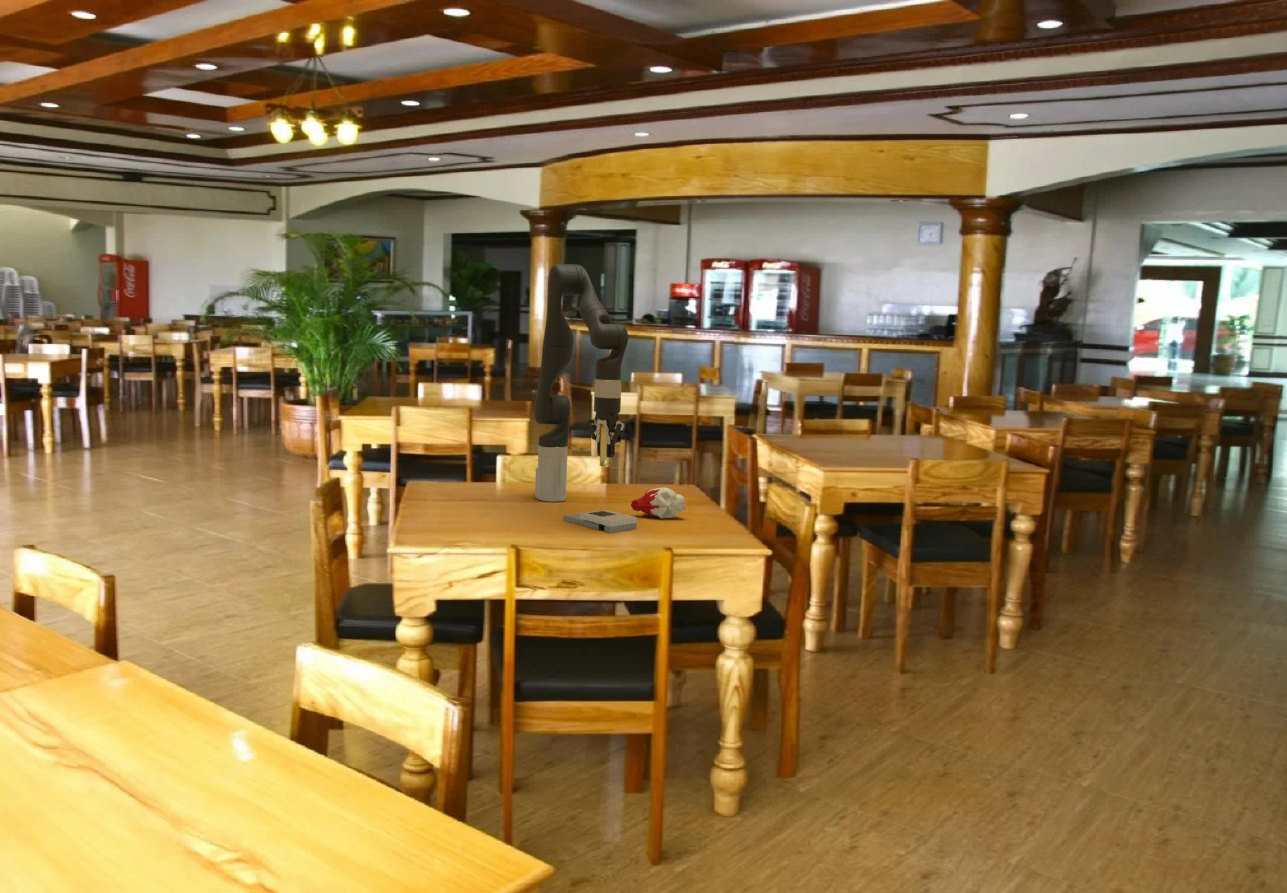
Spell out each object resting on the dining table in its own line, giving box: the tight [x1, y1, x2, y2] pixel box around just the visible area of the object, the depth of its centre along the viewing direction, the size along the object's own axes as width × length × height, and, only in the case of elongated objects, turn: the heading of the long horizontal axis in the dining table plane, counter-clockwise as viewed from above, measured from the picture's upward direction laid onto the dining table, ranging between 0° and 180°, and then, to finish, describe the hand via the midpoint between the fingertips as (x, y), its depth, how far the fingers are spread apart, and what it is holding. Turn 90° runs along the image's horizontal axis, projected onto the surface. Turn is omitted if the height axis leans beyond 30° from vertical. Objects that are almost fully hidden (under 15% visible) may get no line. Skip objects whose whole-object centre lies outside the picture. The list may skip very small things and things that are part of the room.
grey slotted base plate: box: [563, 509, 638, 534], centre depth 307 cm, size 20×10×3 cm, turn 45°
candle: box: [630, 487, 687, 519], centre depth 321 cm, size 9×11×15 cm
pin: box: [599, 420, 612, 468], centre depth 303 cm, size 4×4×13 cm
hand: (605, 456), depth 304 cm, fingers closed on pin, 3 cm apart
